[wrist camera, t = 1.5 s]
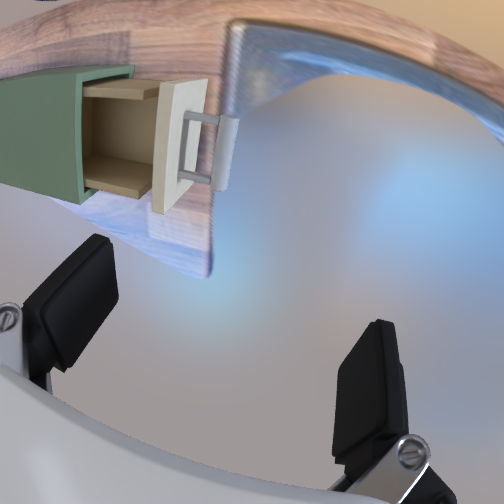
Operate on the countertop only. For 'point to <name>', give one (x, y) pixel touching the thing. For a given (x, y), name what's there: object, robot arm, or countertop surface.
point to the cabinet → (47, 129)
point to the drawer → (150, 138)
